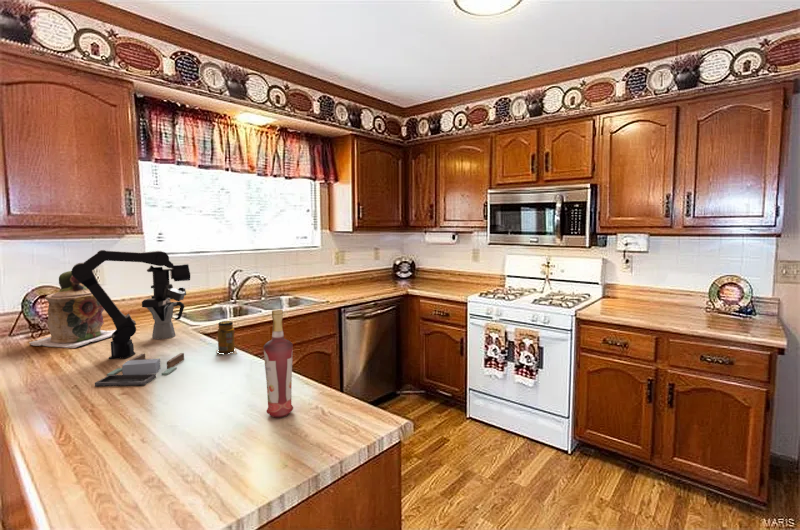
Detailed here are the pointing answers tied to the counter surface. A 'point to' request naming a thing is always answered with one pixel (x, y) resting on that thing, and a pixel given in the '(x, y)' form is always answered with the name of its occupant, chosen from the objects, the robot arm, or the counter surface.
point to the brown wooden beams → (170, 363)
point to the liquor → (278, 369)
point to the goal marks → (162, 373)
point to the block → (141, 367)
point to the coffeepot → (165, 322)
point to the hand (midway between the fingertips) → (163, 320)
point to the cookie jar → (73, 316)
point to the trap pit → (125, 380)
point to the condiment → (226, 338)
